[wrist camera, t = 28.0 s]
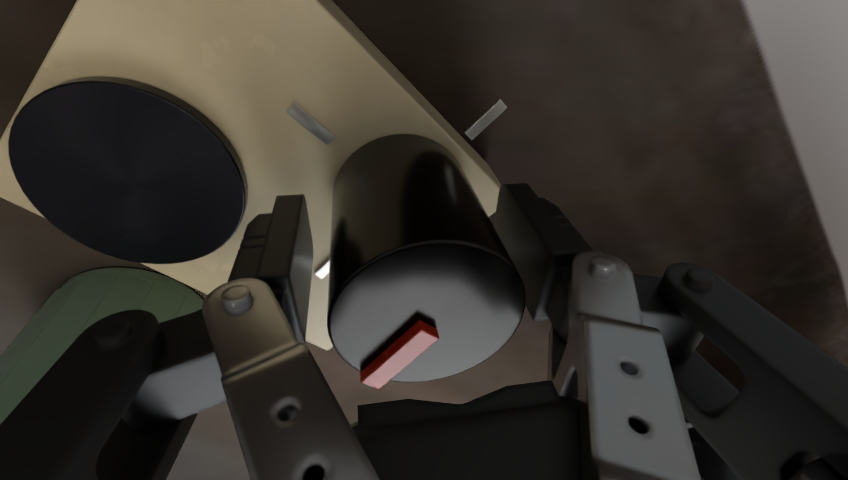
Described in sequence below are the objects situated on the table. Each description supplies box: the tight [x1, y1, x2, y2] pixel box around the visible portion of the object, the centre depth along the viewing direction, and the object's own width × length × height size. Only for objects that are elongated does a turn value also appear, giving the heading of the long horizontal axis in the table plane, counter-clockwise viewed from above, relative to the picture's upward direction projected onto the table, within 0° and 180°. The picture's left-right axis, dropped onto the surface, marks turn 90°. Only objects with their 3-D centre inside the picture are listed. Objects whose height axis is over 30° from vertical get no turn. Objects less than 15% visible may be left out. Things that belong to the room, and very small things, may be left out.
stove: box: [0, 0, 507, 351], centre depth 14 cm, size 13×12×3 cm
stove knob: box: [327, 134, 526, 389], centre depth 11 cm, size 4×4×6 cm
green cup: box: [0, 267, 204, 480], centre depth 14 cm, size 6×6×10 cm
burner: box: [8, 77, 248, 264], centre depth 11 cm, size 6×6×1 cm
